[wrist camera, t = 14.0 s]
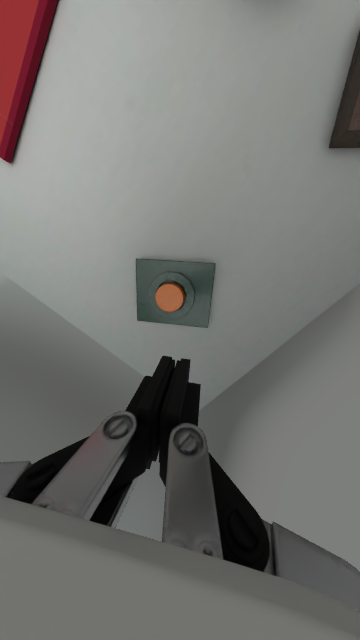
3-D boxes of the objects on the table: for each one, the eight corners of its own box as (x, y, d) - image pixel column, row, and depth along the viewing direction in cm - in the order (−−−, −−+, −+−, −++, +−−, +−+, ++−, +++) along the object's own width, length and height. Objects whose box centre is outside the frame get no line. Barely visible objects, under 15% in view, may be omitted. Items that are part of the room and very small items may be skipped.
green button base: (214, 263, 27) (216, 263, 23) (207, 323, 30) (208, 332, 26) (140, 258, 28) (130, 258, 24) (141, 316, 31) (133, 324, 28)
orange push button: (185, 283, 25) (184, 285, 23) (183, 310, 26) (182, 313, 24) (158, 281, 25) (155, 282, 24) (158, 307, 27) (155, 310, 25)
